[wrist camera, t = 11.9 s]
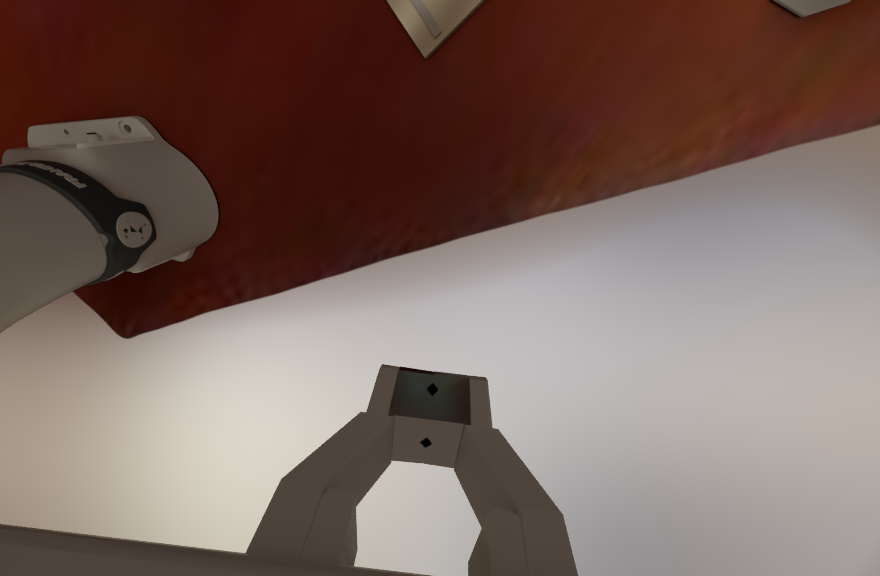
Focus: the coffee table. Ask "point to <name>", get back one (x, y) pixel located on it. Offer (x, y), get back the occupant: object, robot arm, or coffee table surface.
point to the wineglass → (809, 6)
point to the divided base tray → (432, 19)
